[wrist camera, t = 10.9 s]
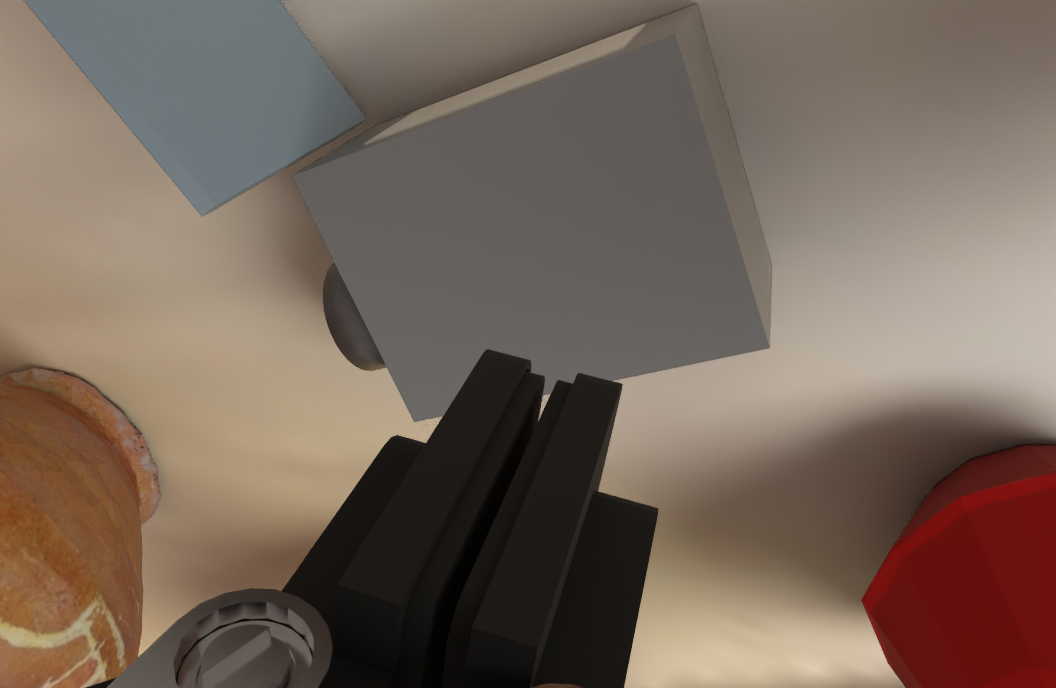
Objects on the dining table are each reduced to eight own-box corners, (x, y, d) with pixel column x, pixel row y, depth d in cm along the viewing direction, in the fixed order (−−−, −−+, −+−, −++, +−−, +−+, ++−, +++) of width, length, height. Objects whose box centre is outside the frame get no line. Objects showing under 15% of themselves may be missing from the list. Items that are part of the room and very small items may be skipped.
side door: (169, -96, 37) (-73, -85, 27) (191, -120, 37) (-50, -120, 26) (343, 136, 40) (188, 227, 30) (366, 118, 40) (215, 205, 29)
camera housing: (696, 1, 34) (674, 31, 27) (771, 265, 39) (769, 347, 32) (332, 139, 41) (244, 190, 35) (431, 349, 46) (370, 431, 39)
